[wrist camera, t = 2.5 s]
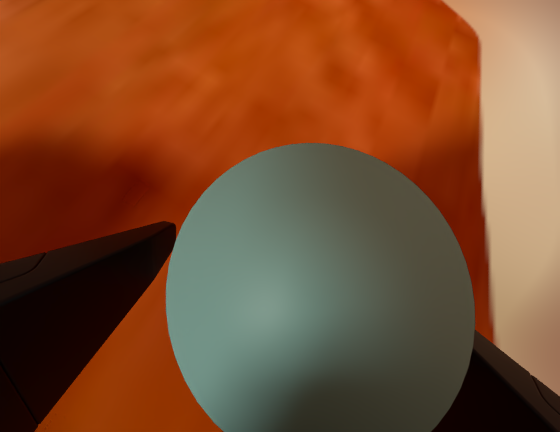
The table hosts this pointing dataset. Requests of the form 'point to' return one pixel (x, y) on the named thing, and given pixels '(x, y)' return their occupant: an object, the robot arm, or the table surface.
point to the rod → (319, 297)
